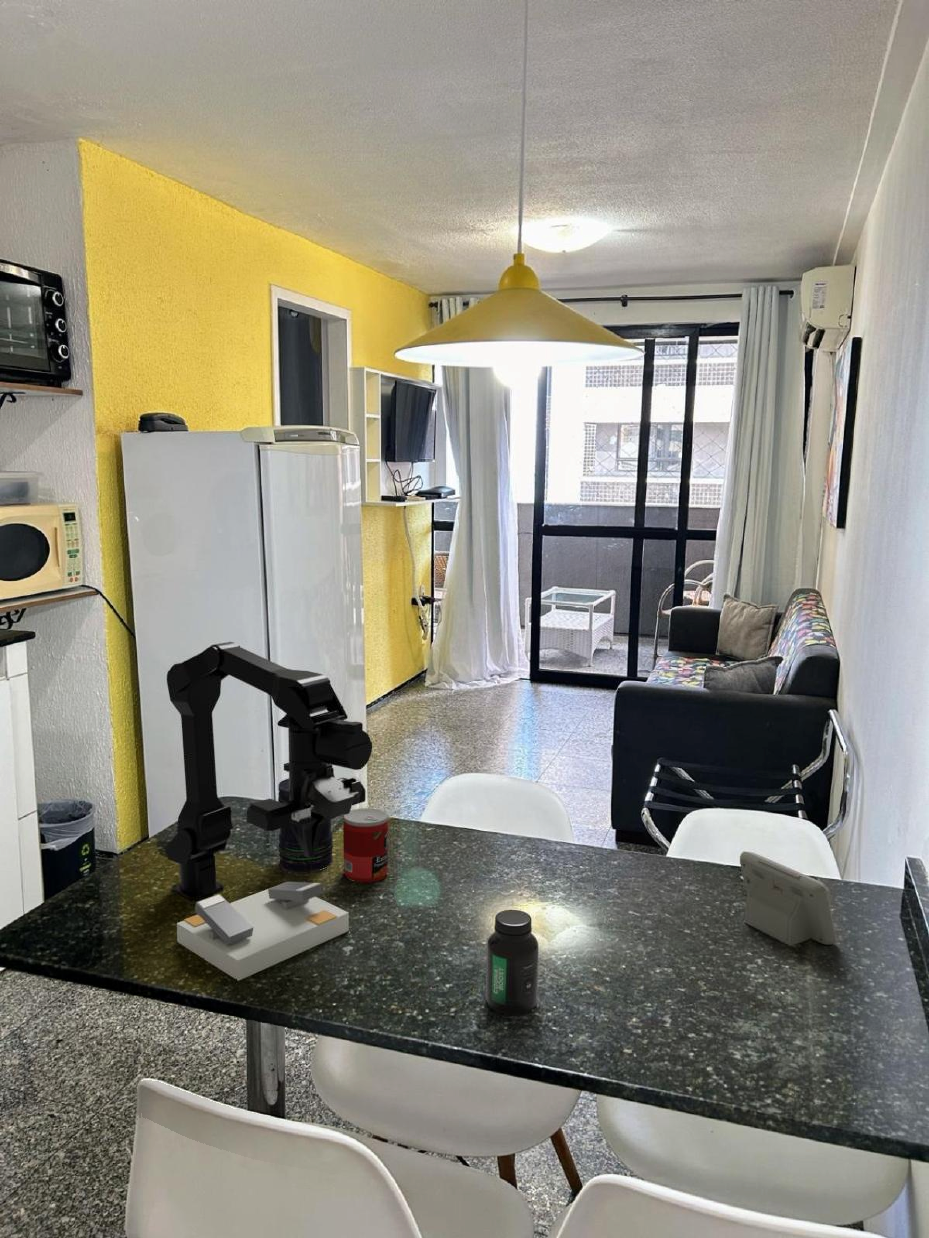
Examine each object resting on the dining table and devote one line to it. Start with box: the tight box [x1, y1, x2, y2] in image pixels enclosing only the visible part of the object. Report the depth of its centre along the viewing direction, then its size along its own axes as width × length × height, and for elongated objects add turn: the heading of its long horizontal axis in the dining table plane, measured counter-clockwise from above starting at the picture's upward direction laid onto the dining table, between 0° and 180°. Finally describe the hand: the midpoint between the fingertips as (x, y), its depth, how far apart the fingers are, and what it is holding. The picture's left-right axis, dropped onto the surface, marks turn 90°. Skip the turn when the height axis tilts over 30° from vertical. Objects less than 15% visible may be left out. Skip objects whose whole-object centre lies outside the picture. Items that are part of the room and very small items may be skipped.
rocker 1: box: [194, 893, 253, 946], centre depth 131 cm, size 9×4×2 cm, turn 47°
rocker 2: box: [267, 881, 325, 901], centre depth 141 cm, size 9×4×2 cm, turn 48°
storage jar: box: [277, 777, 334, 874], centre depth 164 cm, size 10×10×15 cm
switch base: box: [176, 881, 350, 981], centre depth 137 cm, size 16×20×4 cm
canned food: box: [342, 807, 389, 884], centre depth 159 cm, size 8×8×11 cm
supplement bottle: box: [485, 909, 540, 1016], centre depth 119 cm, size 7×7×12 cm
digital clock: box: [739, 851, 836, 947], centre depth 141 cm, size 16×9×11 cm, turn 20°
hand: (308, 856), depth 137 cm, fingers closed
